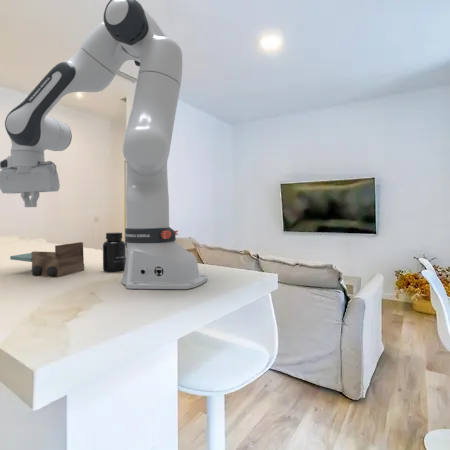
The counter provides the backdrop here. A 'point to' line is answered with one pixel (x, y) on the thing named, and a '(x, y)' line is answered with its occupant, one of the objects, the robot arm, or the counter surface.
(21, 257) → the panel
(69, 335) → the counter surface
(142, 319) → the counter surface
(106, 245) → the supplement bottle
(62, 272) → the cart
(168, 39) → the robot arm
